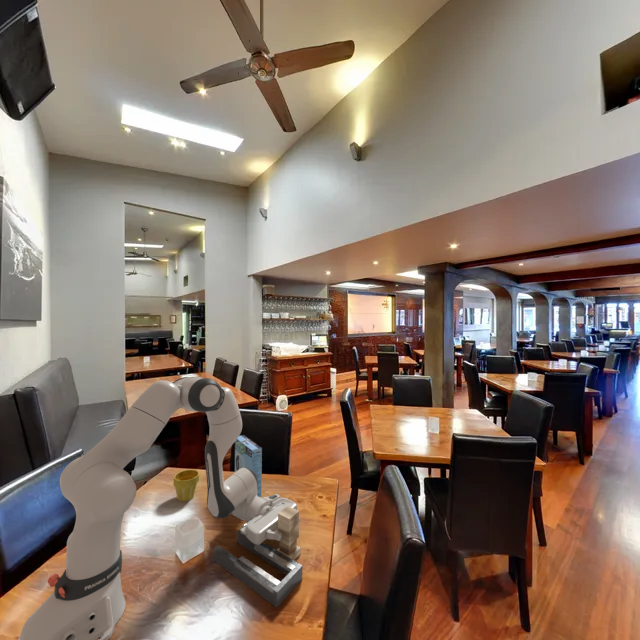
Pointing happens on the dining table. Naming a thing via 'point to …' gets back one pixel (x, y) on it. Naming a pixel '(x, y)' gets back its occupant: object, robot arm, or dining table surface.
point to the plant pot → (186, 484)
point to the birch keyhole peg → (289, 532)
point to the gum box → (249, 458)
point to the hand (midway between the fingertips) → (290, 529)
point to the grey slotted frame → (258, 577)
